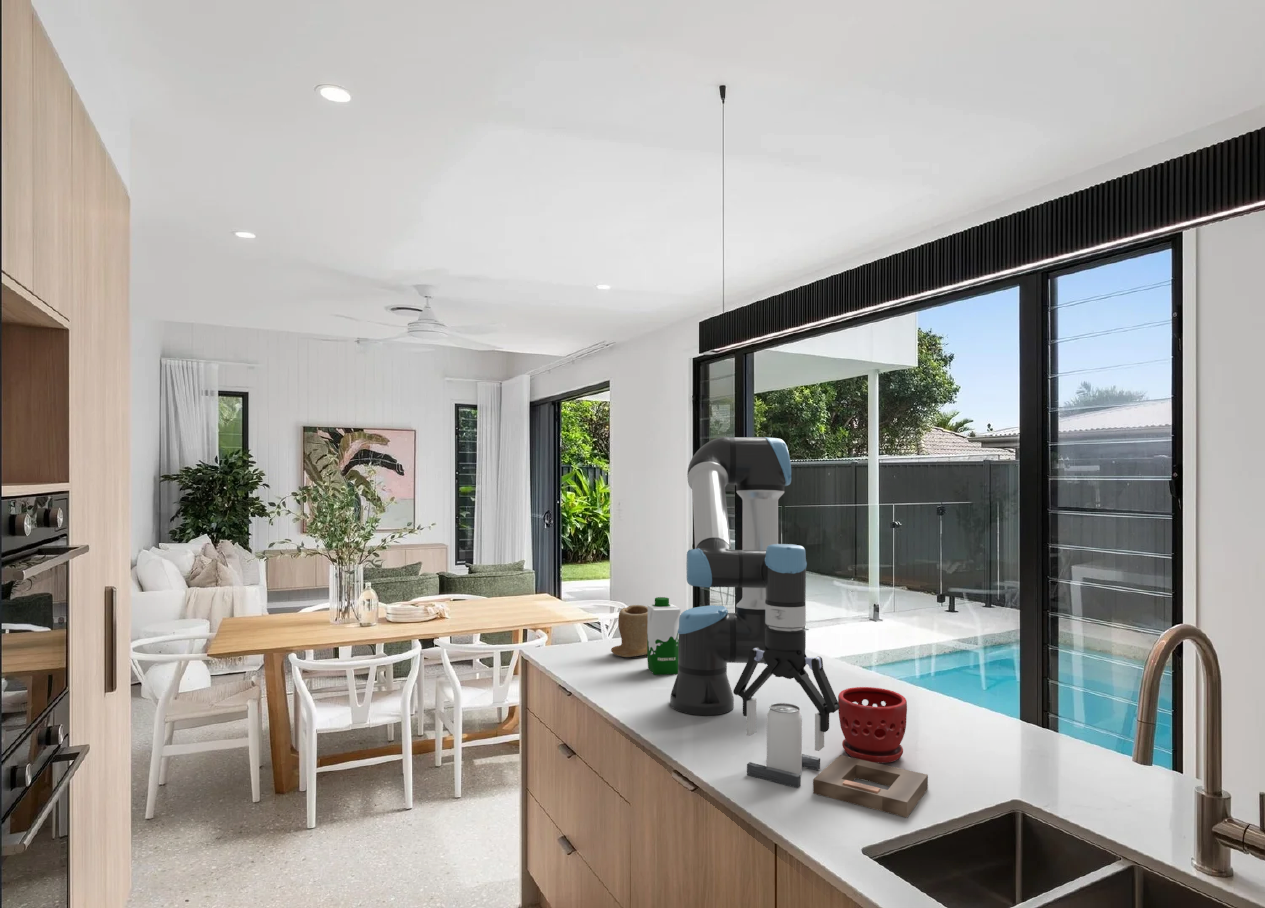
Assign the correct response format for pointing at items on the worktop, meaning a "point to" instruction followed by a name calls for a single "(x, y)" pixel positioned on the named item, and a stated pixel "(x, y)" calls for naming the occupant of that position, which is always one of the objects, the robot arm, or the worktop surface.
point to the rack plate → (894, 800)
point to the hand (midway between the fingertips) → (784, 741)
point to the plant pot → (872, 723)
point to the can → (784, 737)
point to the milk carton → (663, 637)
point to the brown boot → (632, 631)
